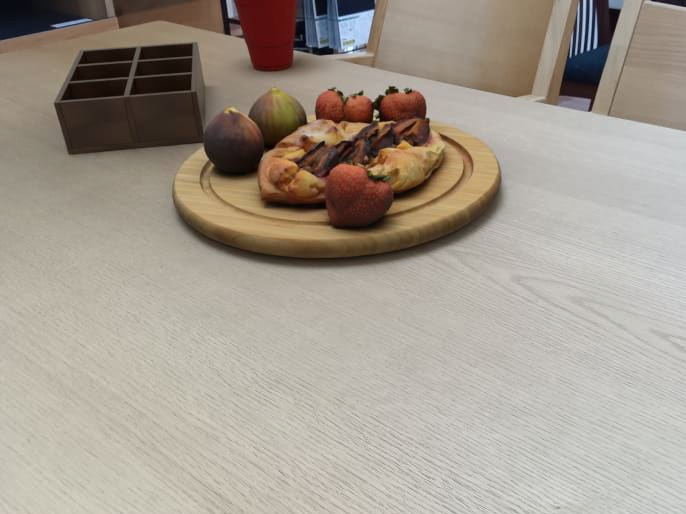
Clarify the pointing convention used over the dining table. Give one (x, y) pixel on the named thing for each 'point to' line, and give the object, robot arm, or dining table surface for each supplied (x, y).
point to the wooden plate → (334, 176)
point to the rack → (133, 98)
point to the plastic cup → (268, 31)
